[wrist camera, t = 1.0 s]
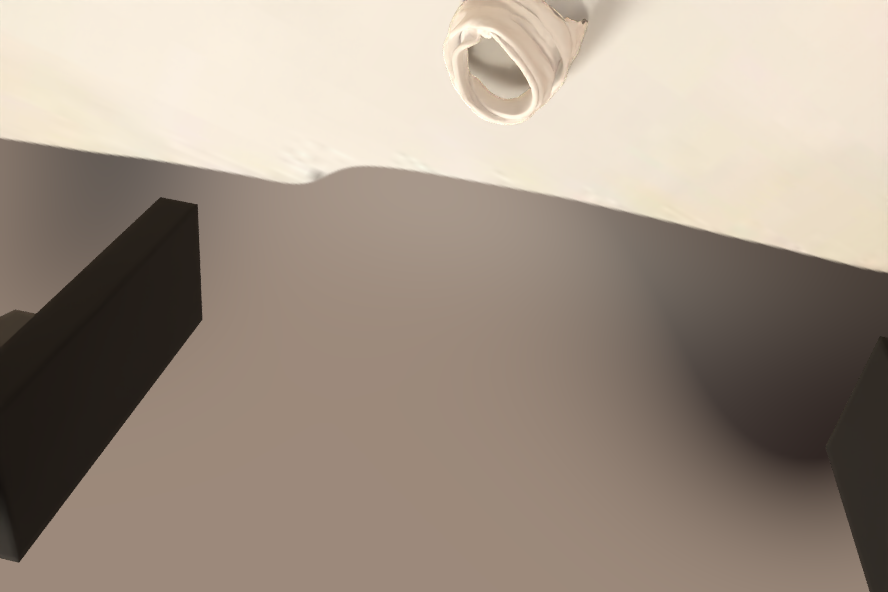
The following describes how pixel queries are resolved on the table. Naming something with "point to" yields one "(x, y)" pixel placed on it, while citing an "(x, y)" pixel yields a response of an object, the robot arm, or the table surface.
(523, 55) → the cream folded ring
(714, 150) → the table surface
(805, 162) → the table surface
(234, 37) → the table surface
